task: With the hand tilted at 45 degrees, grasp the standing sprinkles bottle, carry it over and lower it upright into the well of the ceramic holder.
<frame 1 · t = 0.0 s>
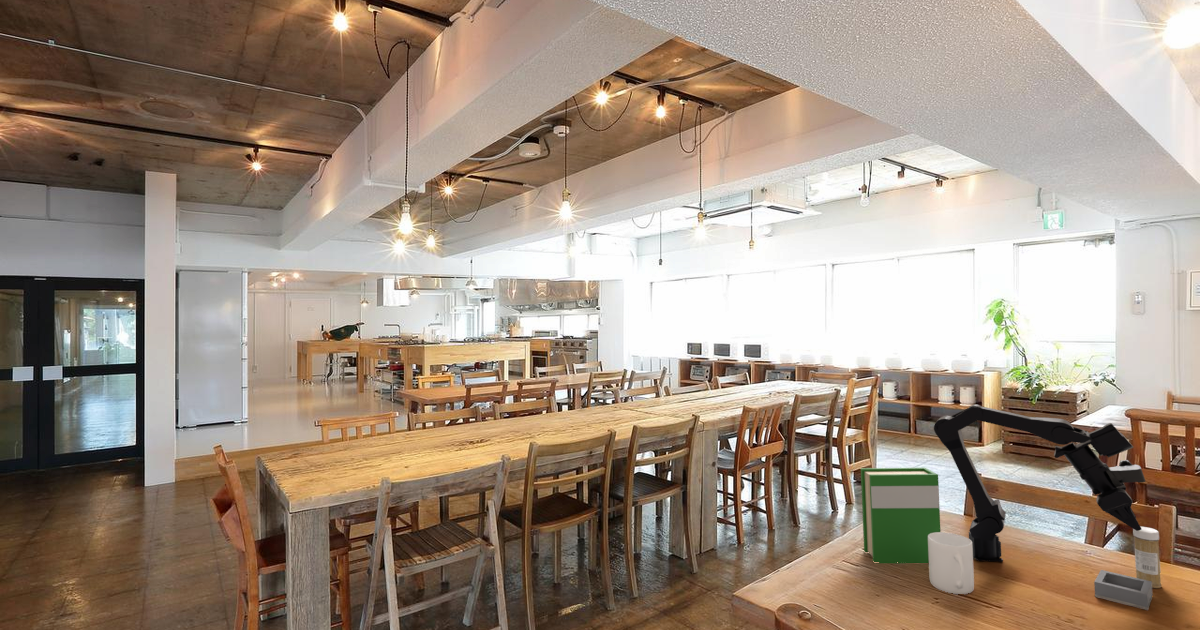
hand: (1136, 524, 138), 15 cm above the table, tool tilted 35°, fingers open, 9 cm apart
hardback book: (901, 558, 159), on the table
mug: (955, 589, 140), on the table
sprinkles bottle: (1148, 585, 139), on the table
holder: (1123, 596, 133), on the table
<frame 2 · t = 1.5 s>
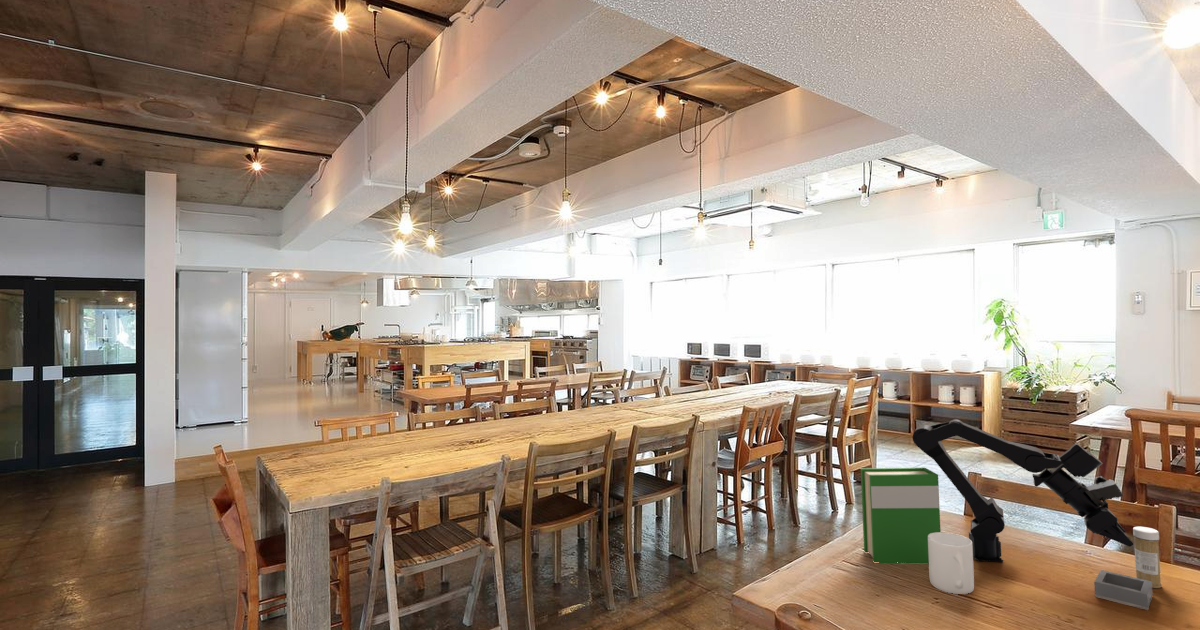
hand: (1127, 539, 141), 10 cm above the table, tool tilted 45°, fingers open, 9 cm apart
nothing on the table moved.
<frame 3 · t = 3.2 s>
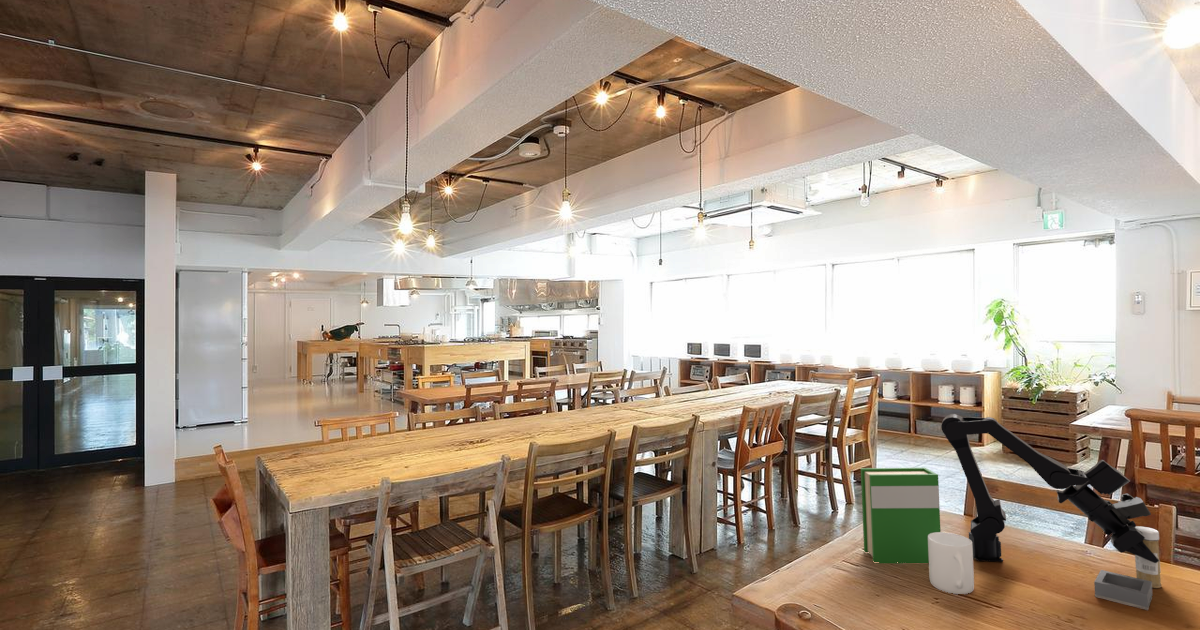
hand: (1154, 558, 138), 7 cm above the table, tool tilted 45°, fingers closed on sprinkles bottle, 4 cm apart
sprinkles bottle: (1148, 585, 139), on the table, touching gripper
everything else where it was.
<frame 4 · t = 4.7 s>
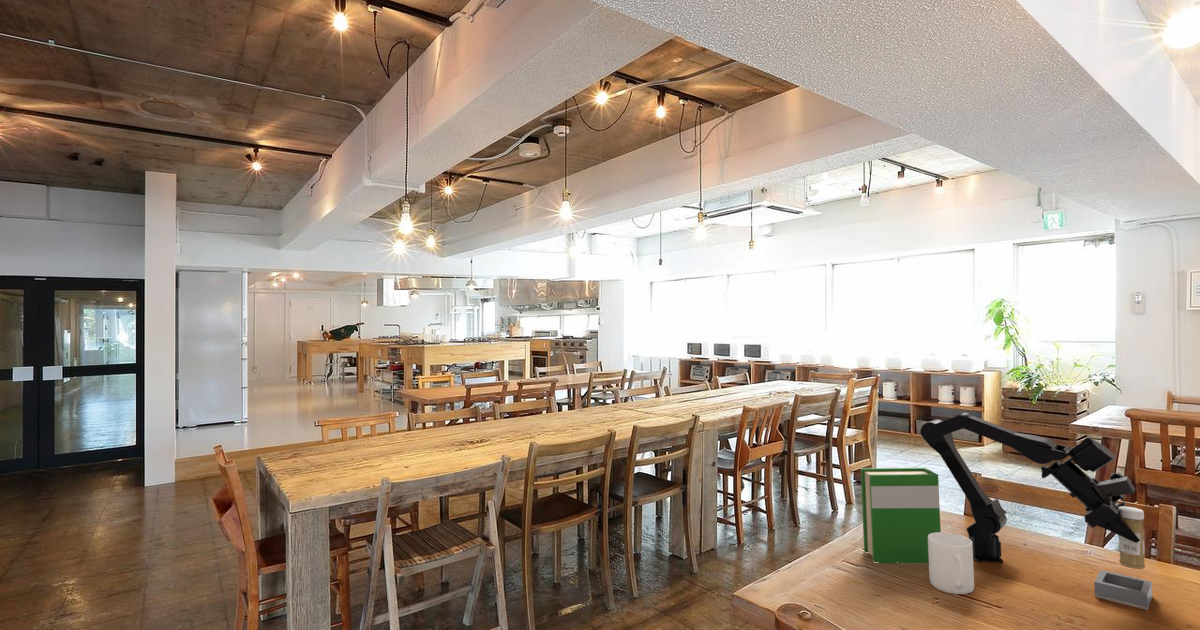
hand: (1139, 538, 134), 13 cm above the table, tool tilted 45°, fingers closed on sprinkles bottle, 4 cm apart
sprinkles bottle: (1131, 566, 135), point 6 cm above the table, touching gripper
everything else where it was.
when the fingers open (8 cm above the table, at t = 6.5 s): sprinkles bottle stays where it is, resting on holder.
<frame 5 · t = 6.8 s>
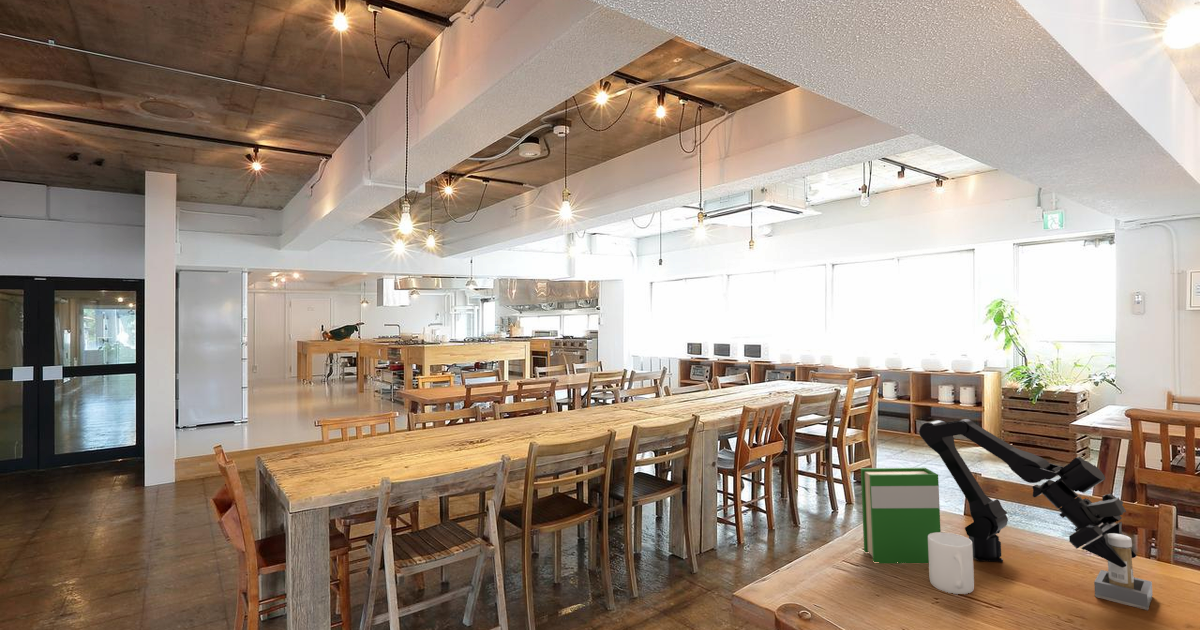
hand: (1129, 561, 132), 9 cm above the table, tool tilted 45°, fingers open, 8 cm apart
sprinkles bottle: (1121, 594, 133), resting on holder
everything else where it was.
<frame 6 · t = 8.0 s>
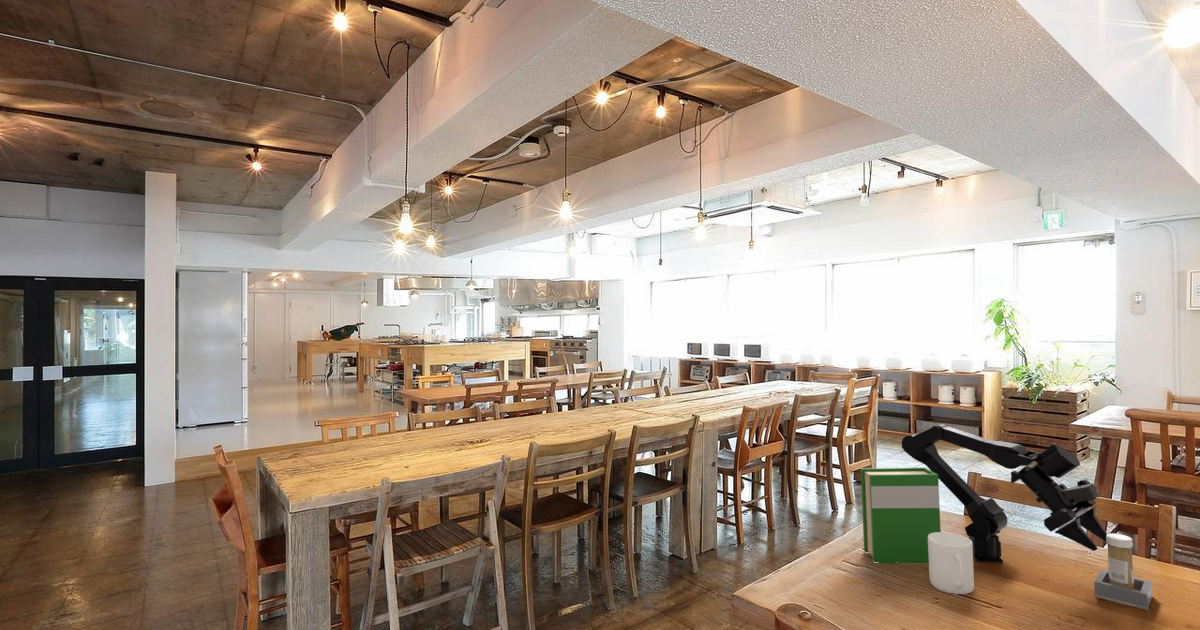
hand: (1102, 544, 136), 11 cm above the table, tool tilted 45°, fingers open, 9 cm apart
nothing on the table moved.
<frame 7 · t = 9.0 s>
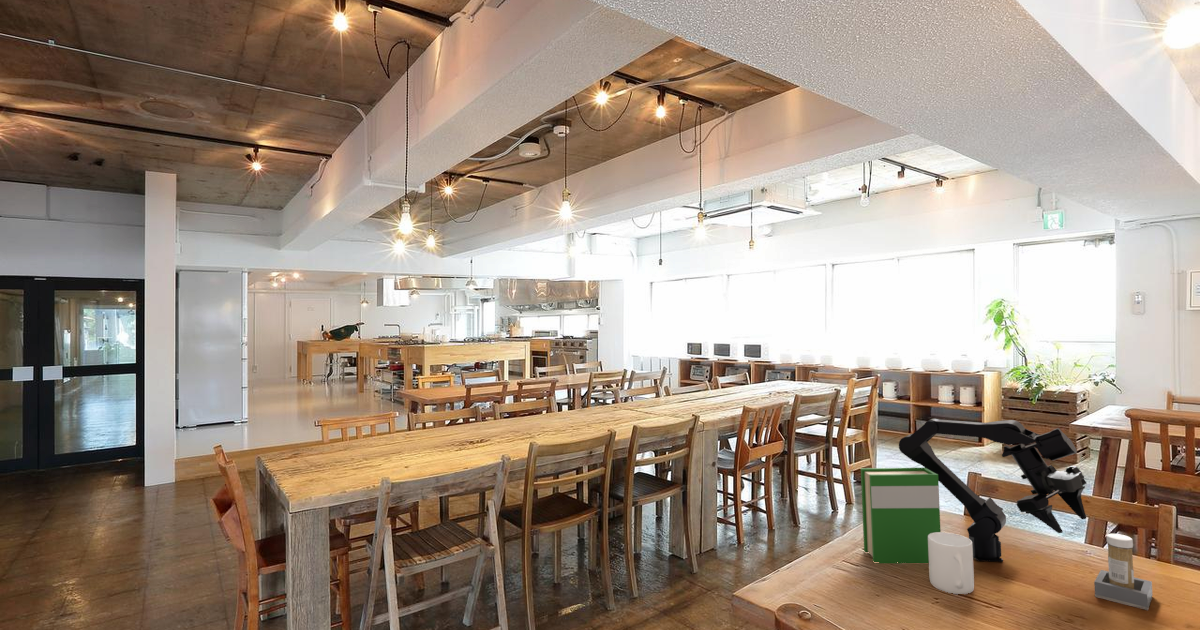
hand: (1072, 525, 144), 13 cm above the table, tool tilted 30°, fingers open, 9 cm apart
nothing on the table moved.
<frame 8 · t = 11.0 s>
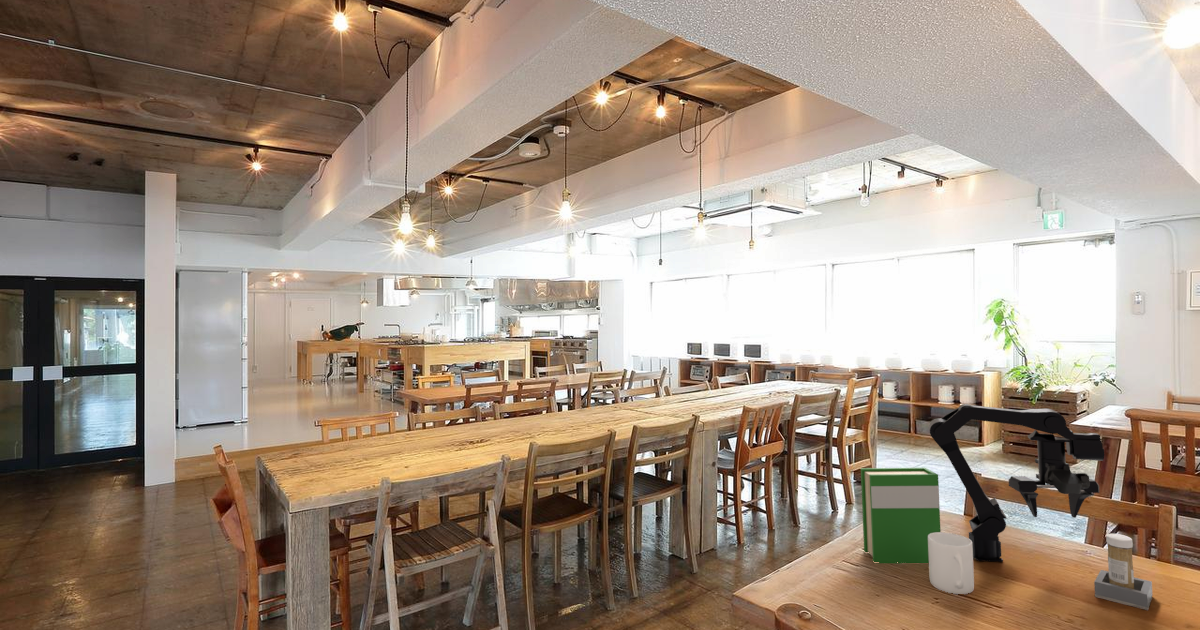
hand: (1054, 517, 150), 13 cm above the table, tool pointing down, fingers open, 9 cm apart
nothing on the table moved.
at the end: sprinkles bottle 0.4 cm off-centre on the holder, point 0.4 cm above the holder's base; sprinkles bottle tilted 0°; the gripper is holding nothing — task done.
